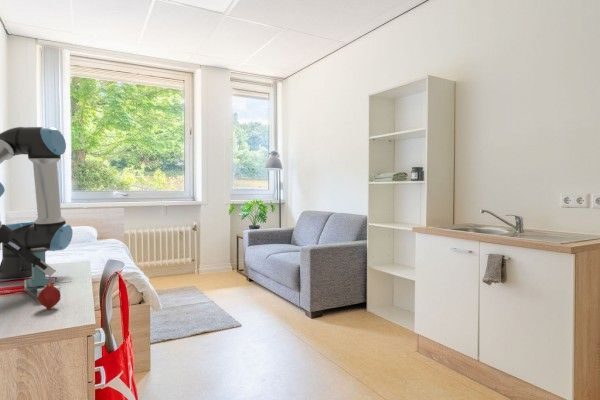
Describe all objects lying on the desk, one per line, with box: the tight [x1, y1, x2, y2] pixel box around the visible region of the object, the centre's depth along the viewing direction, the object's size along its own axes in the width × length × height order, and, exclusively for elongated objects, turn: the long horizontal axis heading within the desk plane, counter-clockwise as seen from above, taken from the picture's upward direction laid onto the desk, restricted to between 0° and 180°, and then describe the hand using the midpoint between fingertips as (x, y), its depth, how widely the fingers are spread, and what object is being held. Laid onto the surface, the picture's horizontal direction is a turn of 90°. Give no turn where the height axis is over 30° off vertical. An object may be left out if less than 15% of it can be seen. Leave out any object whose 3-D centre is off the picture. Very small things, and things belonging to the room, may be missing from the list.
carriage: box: [29, 248, 50, 287], centre depth 134 cm, size 4×5×13 cm
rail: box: [23, 278, 61, 303], centre depth 132 cm, size 22×6×4 cm, turn 47°
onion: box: [37, 282, 62, 310], centre depth 116 cm, size 6×6×8 cm
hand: (51, 272), depth 137 cm, fingers closed on carriage, 3 cm apart
